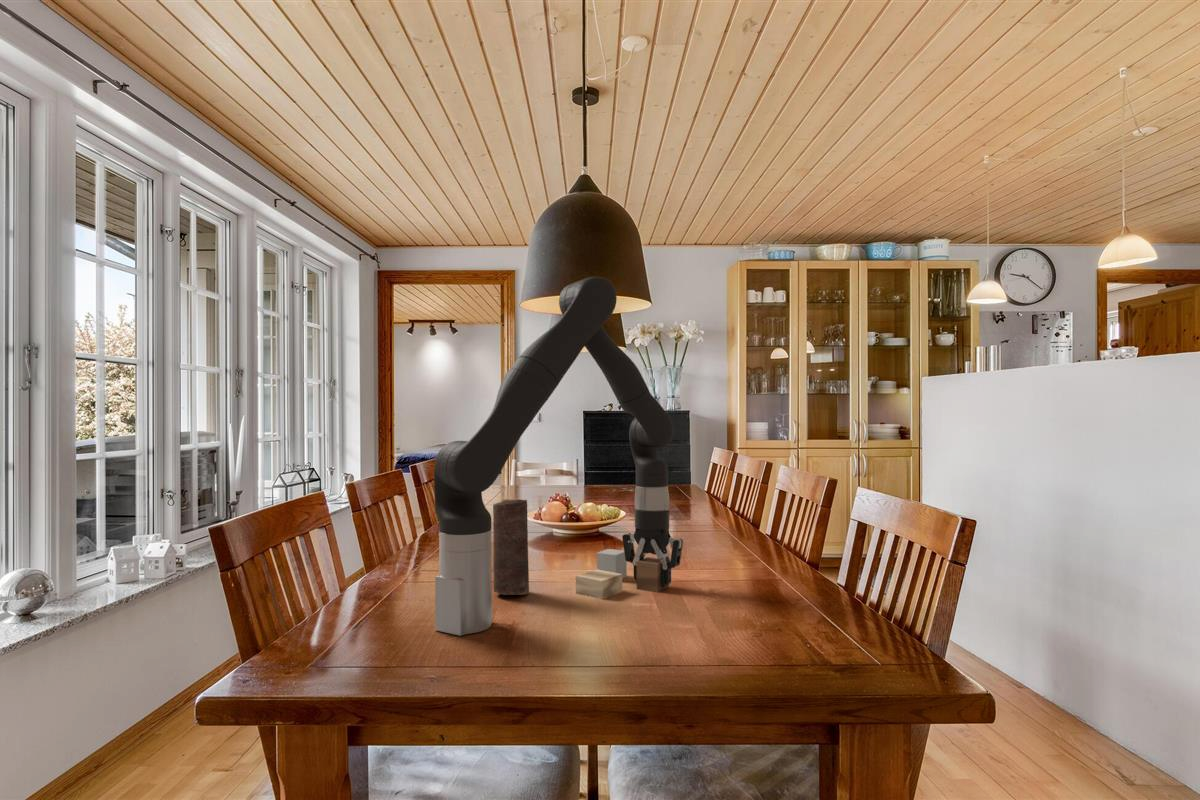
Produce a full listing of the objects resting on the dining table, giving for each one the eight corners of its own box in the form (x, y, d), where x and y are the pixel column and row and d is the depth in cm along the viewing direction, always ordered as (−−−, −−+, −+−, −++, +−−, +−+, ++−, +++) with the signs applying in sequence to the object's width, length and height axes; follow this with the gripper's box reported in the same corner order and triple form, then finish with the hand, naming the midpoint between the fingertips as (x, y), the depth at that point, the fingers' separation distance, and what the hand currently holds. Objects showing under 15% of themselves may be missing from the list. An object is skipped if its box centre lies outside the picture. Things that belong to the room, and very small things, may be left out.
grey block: (615, 581, 150) (615, 555, 150) (597, 579, 152) (596, 552, 152) (626, 577, 154) (626, 551, 154) (608, 574, 157) (608, 548, 157)
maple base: (602, 600, 136) (602, 580, 136) (576, 594, 140) (575, 575, 140) (622, 592, 141) (622, 574, 141) (596, 587, 146) (596, 569, 146)
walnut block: (657, 592, 141) (657, 564, 141) (636, 589, 143) (636, 561, 144) (667, 587, 145) (667, 559, 145) (647, 584, 148) (647, 557, 148)
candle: (510, 602, 134) (510, 503, 134) (485, 596, 139) (485, 500, 139) (536, 593, 140) (535, 498, 140) (511, 588, 145) (511, 496, 145)
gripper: (614, 506, 145) (615, 583, 145) (674, 511, 138) (675, 593, 137) (631, 502, 151) (631, 576, 151) (689, 506, 144) (689, 584, 144)
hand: (652, 583), depth 144 cm, fingers open, 5 cm apart
